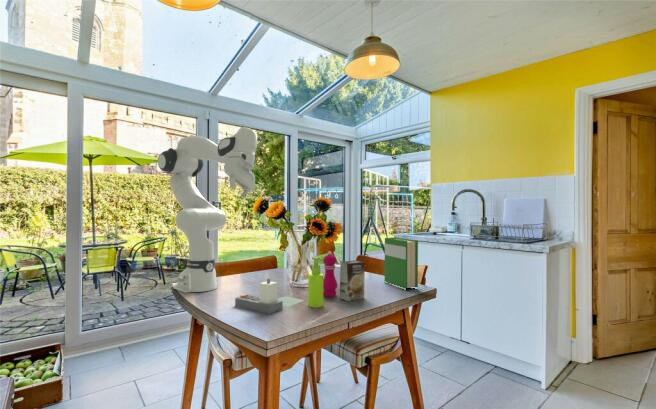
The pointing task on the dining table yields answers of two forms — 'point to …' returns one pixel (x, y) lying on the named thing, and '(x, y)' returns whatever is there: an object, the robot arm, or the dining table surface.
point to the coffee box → (352, 280)
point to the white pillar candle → (268, 292)
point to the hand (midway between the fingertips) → (238, 193)
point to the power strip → (257, 304)
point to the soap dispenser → (315, 285)
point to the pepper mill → (329, 276)
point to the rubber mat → (289, 301)
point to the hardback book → (401, 262)
